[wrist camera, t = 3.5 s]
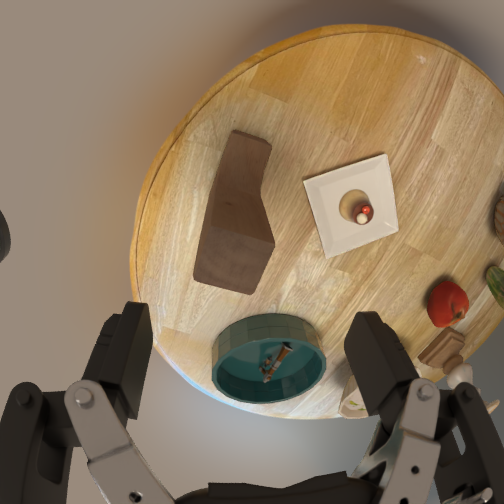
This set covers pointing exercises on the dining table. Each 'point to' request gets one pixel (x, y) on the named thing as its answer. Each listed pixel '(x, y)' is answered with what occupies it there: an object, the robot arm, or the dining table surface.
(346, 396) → the bowl
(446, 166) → the dining table surface
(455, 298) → the tomato
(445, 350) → the candle holder
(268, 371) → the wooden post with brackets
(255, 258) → the wooden block
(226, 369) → the teal bowl
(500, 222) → the vase
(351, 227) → the dessert
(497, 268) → the vegetable
